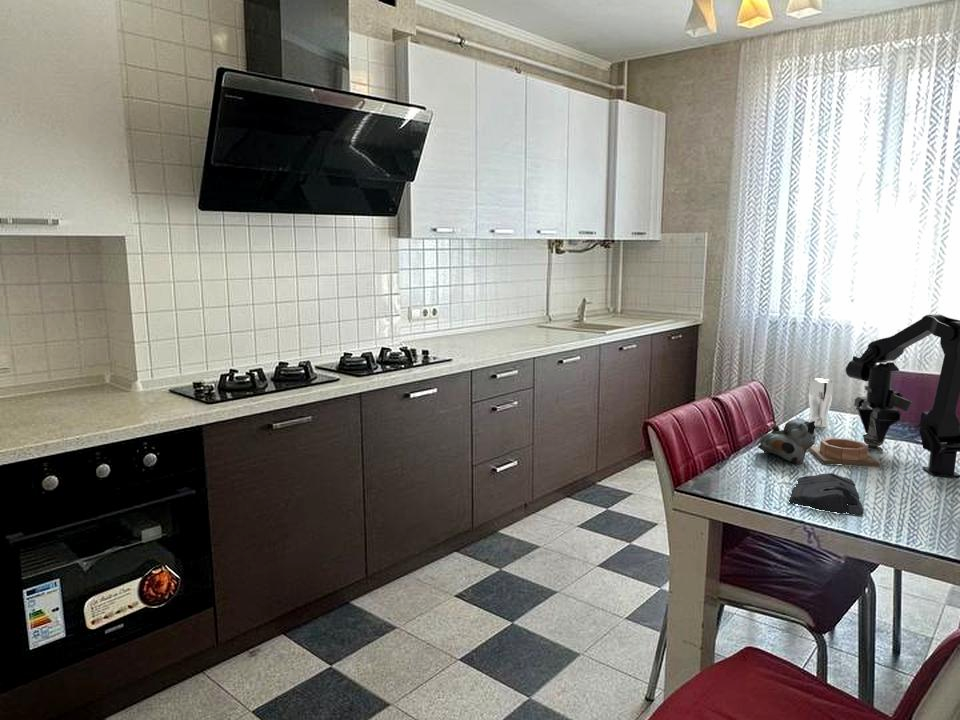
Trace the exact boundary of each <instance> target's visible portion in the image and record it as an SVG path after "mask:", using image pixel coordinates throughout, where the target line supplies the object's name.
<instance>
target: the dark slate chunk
mask: <svg viewBox="0 0 960 720" xmlns="http://www.w3.org/2000/svg"><path fill="white" fill-rule="evenodd" d="M796 480H797V481H798V484H796V487H794V488H793V487H792V489H793V490H792V489H791V492H792V494H791V493H790V494H791V497H790V496H789V498H790V500H789V499H788V500H789V502H790V503H794V504H798V505H803V506H810V507H812V508H815V509H819V510H825V511H830V512H837V513H846V512H847V513H849V514H855V515H854V516H859V515H860V516H863V515H864V513H865V512H864V507H863V505H862V502H861V501H860V498H861V497H860V494H859V492H858V489H857V488H856V483H855V481H854V480H852V479H851V478H848V477H843V476H841V475H837V474H835V473H833V472H832V473H831V472H830V473H829V472H827V473H820V474H815V475H806V476H799V477H798V478H797V479H796ZM790 503H789V504H790ZM847 504H848V505H847Z"/></svg>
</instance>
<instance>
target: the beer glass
mask: <svg viewBox="0 0 960 720" xmlns="http://www.w3.org/2000/svg"><path fill="white" fill-rule="evenodd" d="M833 393H834V381H833V380H831V379H824V378H812V379H810V384H809V391H808V401H809V402H808V404H809V418H808V421H809V422H812V421H815V423H814V424H815V428H828V427H829V418H828V417H829V411H830V408H831V404H832V400H833Z"/></svg>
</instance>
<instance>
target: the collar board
mask: <svg viewBox="0 0 960 720" xmlns="http://www.w3.org/2000/svg"><path fill="white" fill-rule="evenodd" d="M819 442H820V443H819V445H818V446H817V445H815V446H814V445H813V446H811V447H810V448H809V449H808V451H809V452H810V453H811V454H812V453H813V454H814V455H815V456H816V457H817V458H816V457H815V456H814V455H813V454H812V455H813V456H814V457H815V458H816V459H818V461H820V462H821V463H822V462H823V463H824V464H823V463H822V464H823V465H825V464H842V465H841V466H843V465H852V466H851V467H861V468H881V462H879V461H878V460H877V459H875V458H874V457H873V456H871V455H870V454H869V450H868V446H866V445H867V444H866V443H865V442H862V441H857V440H852V439H848V438H837V437H836V438H835V437H834V438H833V437H828V438H823V439H821V440H820V441H819Z"/></svg>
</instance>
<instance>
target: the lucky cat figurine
mask: <svg viewBox="0 0 960 720" xmlns="http://www.w3.org/2000/svg"><path fill="white" fill-rule="evenodd" d="M814 423H815V421H812V422H809V420H806V419H803V418H795V419H791V420H788V421H787V422H786V423H784V424H785V425H784V427H783V429H781V430H780V426H779V425H777V423H776V424H774V425H773V426H772V430H771V431H770V432H768V433H766V434H764V435H763V436H762V437H761V439H760V442H759V443H760V444H758V446H757V448H758V449H760V450H762V451H764V452H763V453H765V452H767V453H768V454H775V455H777V456H779V457H781V458H782V459H784V460H786V461H789V462H791V463H792V464H793V465H799V464H801V463H803V462H804V460H805V459H806V453H807V451H809V448H810V447H811V446H814V445H815V443H816V440H815V439H816V437H817V431H816V430H815V429H816V427H815V424H814Z"/></svg>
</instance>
